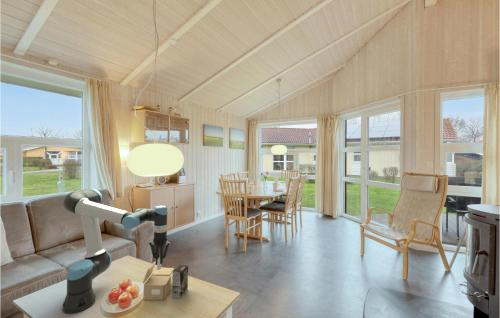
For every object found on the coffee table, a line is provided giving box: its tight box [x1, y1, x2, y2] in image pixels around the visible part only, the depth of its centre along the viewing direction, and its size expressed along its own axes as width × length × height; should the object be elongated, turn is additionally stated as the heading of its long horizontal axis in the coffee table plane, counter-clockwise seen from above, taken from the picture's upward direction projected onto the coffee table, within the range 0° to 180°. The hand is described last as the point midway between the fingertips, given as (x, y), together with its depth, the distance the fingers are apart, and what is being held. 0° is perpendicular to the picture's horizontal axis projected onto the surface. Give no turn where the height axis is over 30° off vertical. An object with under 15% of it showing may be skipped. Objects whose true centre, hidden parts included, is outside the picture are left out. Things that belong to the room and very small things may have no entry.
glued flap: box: [142, 260, 156, 284], centre depth 141 cm, size 1×10×9 cm, turn 1°
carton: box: [143, 267, 175, 301], centre depth 146 cm, size 13×20×10 cm, turn 0°
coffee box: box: [171, 264, 189, 300], centre depth 142 cm, size 9×6×16 cm
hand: (159, 268), depth 141 cm, fingers closed
